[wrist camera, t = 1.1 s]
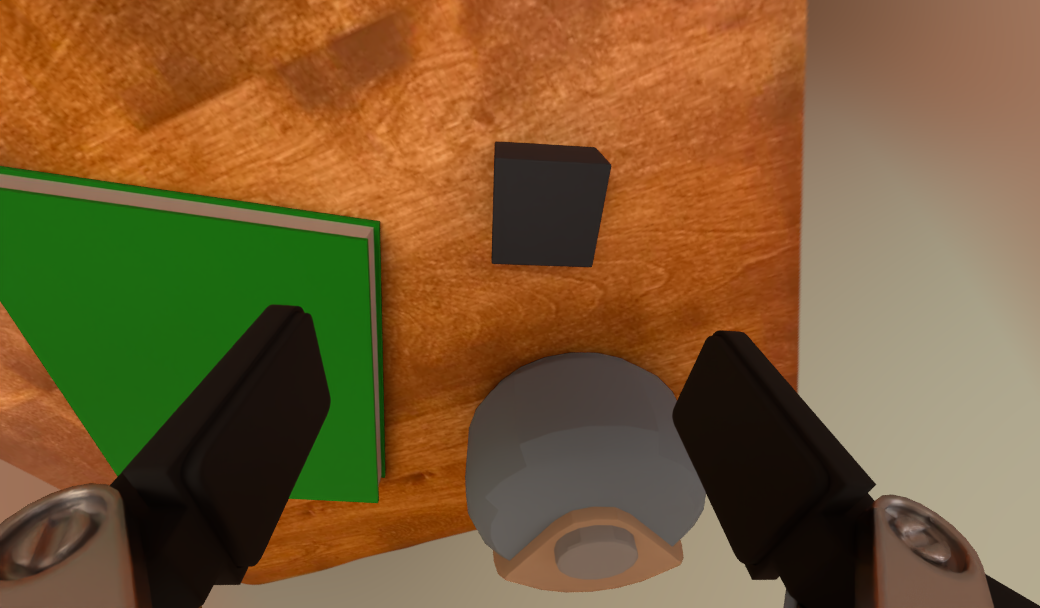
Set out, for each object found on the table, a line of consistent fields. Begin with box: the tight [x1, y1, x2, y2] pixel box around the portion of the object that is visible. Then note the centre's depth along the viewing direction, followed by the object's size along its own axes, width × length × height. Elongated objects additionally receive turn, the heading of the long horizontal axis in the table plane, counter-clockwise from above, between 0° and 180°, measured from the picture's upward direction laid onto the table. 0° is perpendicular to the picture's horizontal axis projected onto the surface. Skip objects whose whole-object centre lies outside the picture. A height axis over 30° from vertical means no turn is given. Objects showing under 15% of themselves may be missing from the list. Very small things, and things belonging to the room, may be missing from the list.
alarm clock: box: [465, 353, 706, 592], centre depth 32 cm, size 19×20×12 cm
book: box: [0, 166, 385, 503], centre depth 30 cm, size 22×28×3 cm
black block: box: [492, 142, 611, 267], centre depth 23 cm, size 6×6×4 cm
